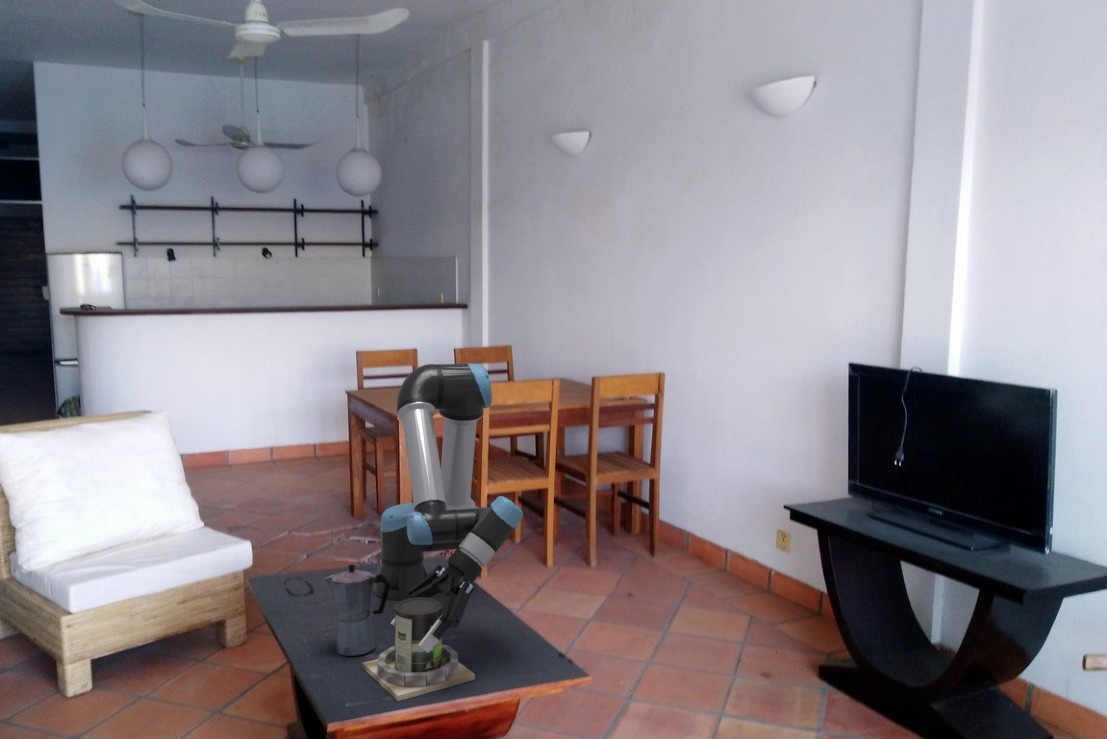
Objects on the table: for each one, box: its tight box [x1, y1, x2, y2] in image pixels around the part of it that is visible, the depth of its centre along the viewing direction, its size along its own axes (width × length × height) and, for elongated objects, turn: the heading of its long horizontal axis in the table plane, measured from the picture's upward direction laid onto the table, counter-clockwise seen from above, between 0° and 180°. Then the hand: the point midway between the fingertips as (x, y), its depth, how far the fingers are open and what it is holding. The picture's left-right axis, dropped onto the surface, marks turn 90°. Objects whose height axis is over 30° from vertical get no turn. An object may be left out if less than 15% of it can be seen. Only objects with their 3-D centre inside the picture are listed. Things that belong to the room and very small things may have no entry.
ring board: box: [362, 643, 476, 702], centre depth 192 cm, size 18×18×4 cm
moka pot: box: [324, 564, 390, 657], centre depth 203 cm, size 10×15×20 cm, turn 88°
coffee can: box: [394, 597, 444, 673], centre depth 192 cm, size 10×10×14 cm
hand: (408, 637), depth 190 cm, fingers open, 13 cm apart
